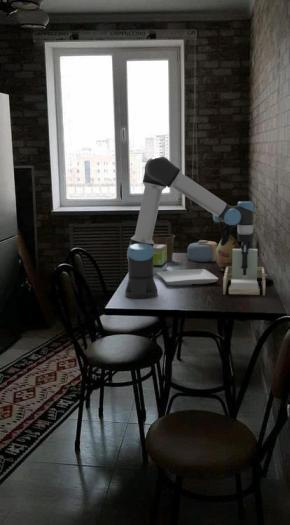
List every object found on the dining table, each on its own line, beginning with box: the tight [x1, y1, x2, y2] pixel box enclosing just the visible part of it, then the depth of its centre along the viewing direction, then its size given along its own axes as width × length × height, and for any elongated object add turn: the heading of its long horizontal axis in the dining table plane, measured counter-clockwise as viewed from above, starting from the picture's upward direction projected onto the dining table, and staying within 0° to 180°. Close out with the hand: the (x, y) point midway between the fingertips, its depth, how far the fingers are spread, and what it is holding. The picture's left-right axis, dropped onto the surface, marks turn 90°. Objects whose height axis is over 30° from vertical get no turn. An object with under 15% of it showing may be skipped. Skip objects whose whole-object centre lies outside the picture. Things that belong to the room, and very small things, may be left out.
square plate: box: [155, 268, 219, 287], centre depth 275 cm, size 27×27×4 cm
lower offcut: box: [228, 284, 261, 296], centre depth 247 cm, size 7×14×3 cm, turn 79°
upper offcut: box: [230, 279, 259, 289], centre depth 246 cm, size 7×12×3 cm, turn 83°
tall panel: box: [232, 248, 258, 280], centre depth 260 cm, size 5×12×18 cm, turn 79°
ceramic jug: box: [215, 222, 241, 272], centre depth 298 cm, size 17×15×30 cm
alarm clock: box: [187, 239, 218, 263], centre depth 337 cm, size 19×20×12 cm
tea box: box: [153, 244, 168, 275], centre depth 301 cm, size 15×10×15 cm
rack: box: [222, 266, 266, 296], centre depth 258 cm, size 32×19×7 cm, turn 169°
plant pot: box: [152, 234, 176, 263], centre depth 333 cm, size 16×16×16 cm
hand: (244, 279), depth 261 cm, fingers closed on tall panel, 5 cm apart
